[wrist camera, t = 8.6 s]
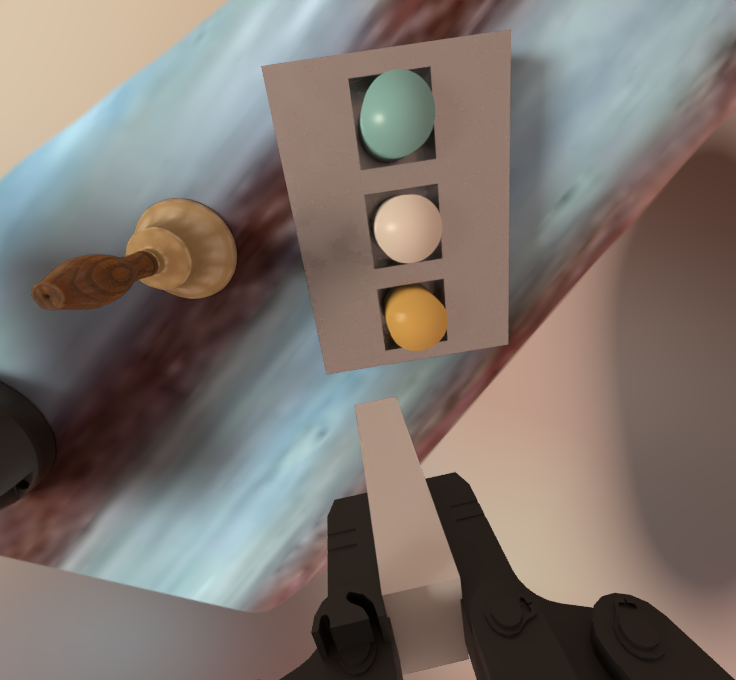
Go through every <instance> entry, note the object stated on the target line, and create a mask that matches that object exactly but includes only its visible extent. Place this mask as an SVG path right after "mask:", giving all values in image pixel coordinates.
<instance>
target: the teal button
mask: <svg viewBox="0 0 736 680" xmlns="http://www.w3.org/2000/svg"><path fill="white" fill-rule="evenodd" d="M434 121H435V102H434V98H433V95H432V92H431V90H430V88H429V86H428V85H427V83H426V82H425V81H424V80H423V79H422V78H421V77H420V76H419V75H417V74H416V73H414V72H412V71H409V70H405V69H394V70H390V71H387V72H385V73H383V74H381V75H380V76H379V77H377V78H376V79H375V80H374V81H373V83H372V84H371V85H370V87H369V89H368V90H367V92H366V95H365V98H364V101H363V105H362V109H361V113H360V117H359V122H358V132H359V137H360V140H361V143H362V145H363V147H364V148H365V150H366V151H367V152H368V153H369V154H370V155H371V156H372V157H374V158H375V159H377V160H379V161H383V162H395V161H398V160H401V159H402V158H404V157H406V156H407V155H409V154H410V153H412V152H414V151H415V150H417V149H418V148H419V147H420V146H422V145H423V144H424V142H425V141H426V140H427V138H428V137H429V135H430V133H431V131H432V128H433V125H434Z"/></svg>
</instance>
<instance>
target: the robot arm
mask: <svg viewBox="0 0 736 680" xmlns="http://www.w3.org/2000/svg"><path fill="white" fill-rule="evenodd" d="M355 408H356V415H357V422H358V429H359V436H360V443H361V451H362V458H363V465H364V472H365V479H366V486H367V493H364V494H359V495H355V496H350V497H346V498H341V499H336V500H334V503H333V505H332V507H331V510H330V512H329V514H328V597H327V598H326V599H325V600H324V601H323V602H322V604H321V605H320V607H319V609H318V611H317V613H316V615H315V617H314V622H313V626H312V632H311V633H312V636H313V638H314V641H315V643H316V646H317V649H316V650H315V652H314V653H313V654H312V656H311V657H310V658H309V659H308V660H306V661H305V662H304V663H303V664H302V665H301V666H300V667H298V668H296V669H295V670H294V671H292V672H291V673H289V674H287V675H286V676H285V677H283V678H282V679H280V680H403V677H402V675H405V674H409V673H413V672H417V671H421V670H426V669H430V668H434V667H438V666H442V665H446V664H450V663H454V662H458V661H463V660H467V659H469V656H470V659H471V662H472V666H473V669H474V672H475V675H476V678H477V680H735V679H733V678H732V677H731V676H730V675H729V674H728V673H727V672H726V671H725V670H724V669H723V668H722V667H720V665H718V664H717V663H716V662H715V661H714V660H713V659H712V658H711V657H710V656H708V654H707V653H705V652H704V651H703V650H702V649H701V648H700V647H699V646H698V645H697V644H696V643H695V642H694V641H692V640H691V639H690V638H689V637H688V636H687V635H686V634H685V633H684V632H683V631H682V630H681V629H679V628H678V627H677V626H676V625H675V624H674V623H673V622H672V621H671V620H670V619H669V618H668V617H667V616H665V615H664V614H663V613H661V612H660V611H659V610H657V609H656V608H655V607H653V606H652V605H651V604H649V603H648V602H646V601H643V600H641V599H639V598H636V597H634V596H631V595H627V594H619V593H613V594H609V595H605V596H602V597H601V598H600V599H599V600H598V601H597V602H596V604H595V605H594V608H591V607H584V606H576V605H569V604H561V603H557V602H553V601H549V600H546V599H544V598H542V597H540V596H538V595H536V594H535V593H533V592H532V591H530V590H529V589H528V588H526V587H525V585H524V584H523V583H521V581H520V580H519V579H518V578H517V576H516V575H515V573H514V572H513V570H512V568H511V566H510V564H509V562H508V560H507V558H506V556H505V554H504V552H503V550H502V548H501V546H500V544H499V542H498V540H497V538H496V536H495V535H494V532H493V530H492V528H491V526H490V524H489V522H488V520H487V519H486V517H485V515H484V513H483V510H482V508H481V506H480V504H479V503H478V501H477V499H476V497H475V495H474V493H473V491H472V489H471V487H470V485H469V484H468V483H467V482H466V481H465V480H464V479H463V478H461V477H460V476H459V475H458V474H457V473H455V472H454V473H450V474H445V475H441V476H436V477H432V478H427V479H425V477H424V475H423V472H422V469H421V466H420V463H419V460H418V458H417V455H416V452H415V449H414V446H413V444H412V441H411V438H410V435H409V432H408V429H407V427H406V424H405V421H404V418H403V415H402V413H401V410H400V407H399V404H398V401H397V398H396V397H392V398H387V399H383V400H378V401H373V402H368V403H364V404H359V405H355ZM55 455H56V447H55V441H54V437H53V434H52V432H51V429H50V427H49V426H48V424H47V422H46V421H45V419H44V418H43V416H42V415H41V414H40V413H39V411H38V410H37V409H36V408H35V407H34V406H33V405H32V404H31V403H30V402H29V401H28V400H26V399H25V398H24V397H23V396H21V395H20V394H19V393H17V392H16V391H14V390H13V389H11V388H10V387H8V386H6V385H4V384H2V383H0V510H2V509H4V508H6V507H8V506H10V505H12V504H14V503H15V502H17V501H19V500H20V499H22V498H23V497H24V496H26V495H27V494H28V493H29V492H30V491H31V490H33V489H34V488H35V487H36V486H37V485H38V484H39V483H40V482H41V481H42V480H43V479H44V478H45V477H46V476H47V475H48V473H49V472H50V470H51V469H52V467H53V464H54V461H55ZM468 653H469V656H468Z"/></svg>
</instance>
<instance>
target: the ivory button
mask: <svg viewBox="0 0 736 680" xmlns="http://www.w3.org/2000/svg"><path fill="white" fill-rule="evenodd" d="M371 228H372V234H373V237H374V239H375V241H376V243H377V244H378V245H379V246H380V248H381V249H382V250H383V251H384V252H385V253H386V254H387V255H388V256H389V257H390V258H392V259H393V260H395V261H398V262H401V263H415V262H419V261H421V260H423V259H425V258H427V257H428V256H429V255H430V254H431V253H432V252H433V251H434V250H435V249H436V247H437V246H438V244H439V241H440V239H441V235H442V219H441V216H440V213H439V211H438V209H437V208H436V206H435V205H434V204H433V203H432V202H431V201H429V200H428V199H426V198H425V197H422V196H419V195H412V194H410V195H396V196H392V197H390V198H388V199H386V200H384V201H383V202H382V203H381V204H380V205H379V206H378V207H377V209H376V210H375V212H374V215H373V218H372V224H371Z"/></svg>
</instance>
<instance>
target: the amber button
mask: <svg viewBox="0 0 736 680" xmlns="http://www.w3.org/2000/svg"><path fill="white" fill-rule="evenodd" d="M382 311H383V315H384V318H385V321H386V323H387V326H388V328H389V331H390V334H391V336H392V338H393V339H394V341H395V342H396V343H397V344H398V345H399V346H401V347H402V348H404V349H407V350H410V351H422V350H426V349H429V348H431V347H433V346H434V345H436V344H437V343H438V342H439V341H440V340H441V339H442V337H443V336H444V334H445V332H446V330H447V326H448V315H447V312H446V309H445V308H444V306H443V305H442V304H441V302H440V301H439V300H438V299H437V298H436V297H435V296H434V295H433V294H432V293H431V292H430V291H429V290H428V289H427V288H425V287H424V286H423V285H421V284H419V283H413V284H407V285H401V286H395V287H393V288H392V289H391V290H390V291H389V292H388V293H387V294H386V296H385V298H384V301H383V306H382Z"/></svg>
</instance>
